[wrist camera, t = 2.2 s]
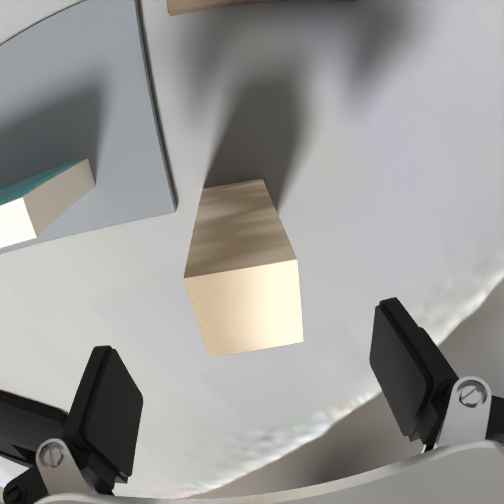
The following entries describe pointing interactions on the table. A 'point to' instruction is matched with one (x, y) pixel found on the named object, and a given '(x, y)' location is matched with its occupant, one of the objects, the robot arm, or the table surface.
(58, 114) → the mat
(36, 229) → the tile
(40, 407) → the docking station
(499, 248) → the table surface
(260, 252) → the block
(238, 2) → the plate
